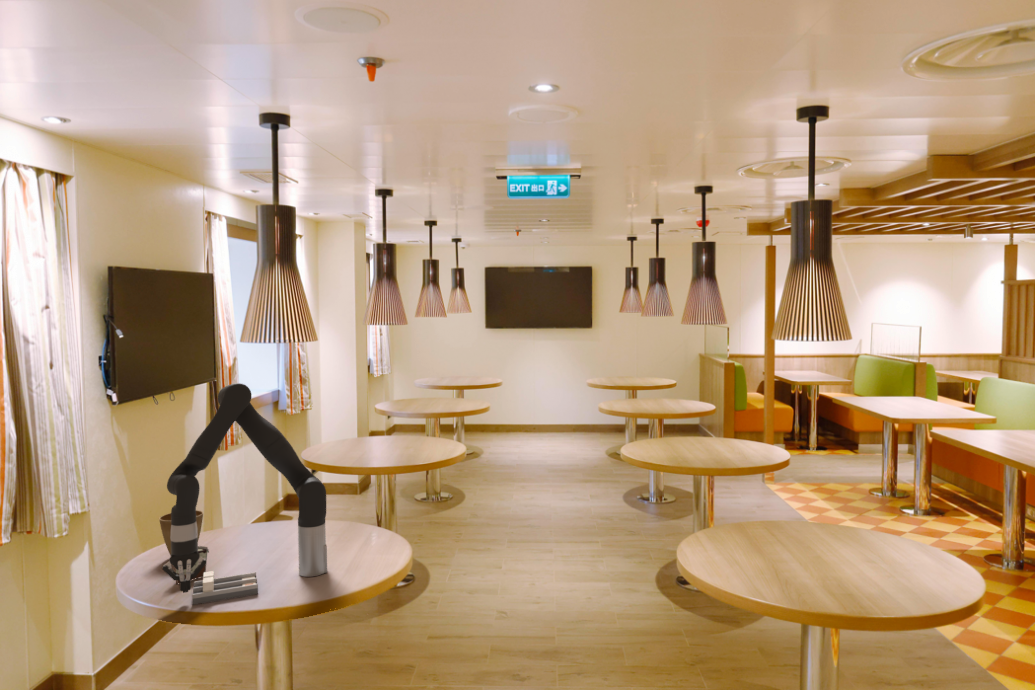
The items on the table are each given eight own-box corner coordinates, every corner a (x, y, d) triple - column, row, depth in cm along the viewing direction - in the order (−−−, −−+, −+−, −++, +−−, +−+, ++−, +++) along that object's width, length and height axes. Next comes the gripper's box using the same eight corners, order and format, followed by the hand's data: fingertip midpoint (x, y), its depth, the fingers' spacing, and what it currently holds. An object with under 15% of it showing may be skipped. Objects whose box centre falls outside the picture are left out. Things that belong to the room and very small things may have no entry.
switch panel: (256, 581, 219) (256, 572, 219) (258, 594, 208) (257, 584, 208) (194, 591, 211) (193, 581, 211) (192, 605, 200) (192, 594, 200)
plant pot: (212, 550, 252) (211, 509, 252) (188, 563, 237) (188, 520, 237) (176, 549, 253) (175, 509, 253) (151, 563, 239) (150, 520, 238)
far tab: (214, 582, 213) (213, 570, 213) (213, 587, 209) (213, 575, 209) (203, 584, 211) (203, 572, 211) (203, 589, 207) (203, 576, 207)
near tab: (213, 588, 208) (213, 576, 207) (213, 593, 204) (213, 581, 203) (203, 590, 206) (203, 578, 206) (203, 595, 202) (202, 582, 202)
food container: (201, 571, 230) (201, 543, 229) (209, 575, 226) (209, 546, 225) (165, 581, 220) (164, 552, 220) (172, 585, 216) (172, 556, 216)
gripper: (207, 530, 208) (209, 583, 208) (161, 536, 203) (162, 591, 203) (207, 537, 201) (208, 592, 202) (159, 543, 196) (160, 600, 196)
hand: (185, 591), depth 202 cm, fingers closed
